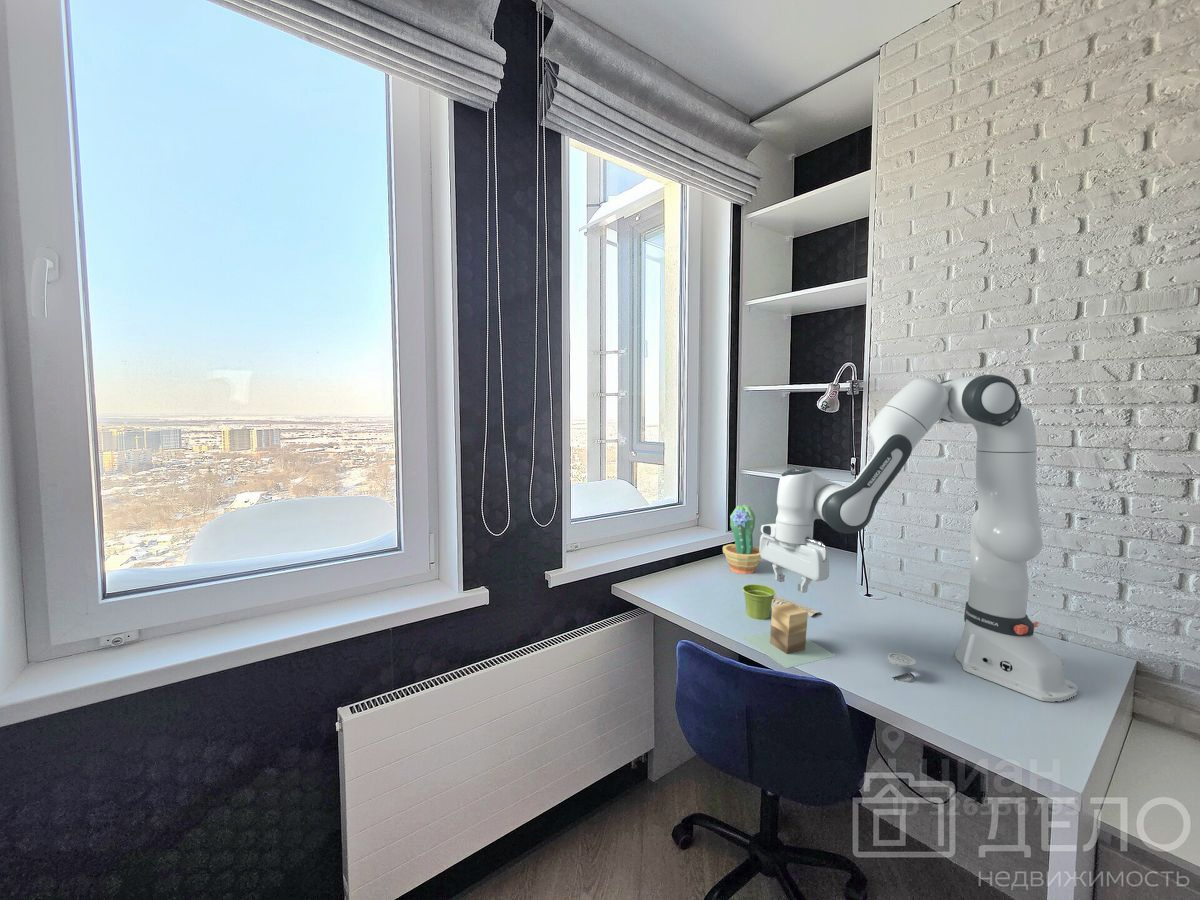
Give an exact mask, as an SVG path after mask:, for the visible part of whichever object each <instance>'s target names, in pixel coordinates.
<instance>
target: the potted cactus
mask: <svg viewBox="0 0 1200 900" xmlns="http://www.w3.org/2000/svg"><path fill="white" fill-rule="evenodd" d="M729 518H730V521H729V522H730V524H729V525H730V529H731V531H732V535H733V539H734V543H730V544H726V545H723V546H722V553H723V554H724V555H725V559H726V561H727V563H728V565H729V569H730V571H731V572H733V573H737V574H740V575H742V574H743V575H747V574H748V575H751V574H753V573H755V569H756V567H757V566H758V565H759V563H760V561H761V560H762V558H761V556H760V553H759V546H755V545H754V542H753V539H754V537H753V533H754V530H755V525H756V515H755V513H754V511H753V510H752V508H751V507H750V505H746V504H742V505H741V504H738V505H736V507H735V508H734V510H733V511H732V513H731V514H730V516H729Z"/></svg>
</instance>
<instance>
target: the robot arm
mask: <svg viewBox="0 0 1200 900" xmlns="http://www.w3.org/2000/svg"><path fill="white" fill-rule="evenodd" d="M938 421H941V422H947V423H958V424H959V423H960V424H972V426H973V427H974V430H975V432H976V437H977V439H976V449H975V450H976V452H975V453H976V457H975V458H976V459H975V461H976V462H975V466H976V467H975V485H976V494H977V503H978V504H977V505H978V509H976V510H975V511H974V513H972V514H973V515H972V517H971V518H970V519H971V520H970V539H969V546H970V549H969V551H970V557H969V558H970V560H969V561H970V562H969V563H970V574H969V575H970V576H969V589H968V597H967V601H966V602H965V606H964V608H965V609H964V615H963V620H964V621H963V622H964V628H963V631H962V632H963V633H962V635H961V639H960V641H959V645H958V647H957V649H956V650H955V652H954V656H955V659H956V660H957V661H958V662H959V663H960V664H961V665H962V666H961V667H962V670H963V671H965V672H967V673H969V674H972V675H975V676H977V677H978V678H982V679H985V680H987V681H990V682H991V683H995V684H998V685H1000V686H1003V687H1005V688H1008V689H1010V690H1013V691H1015V692H1018V693H1020V694H1023V695H1026V696H1029V697H1031V698H1033V699H1036V700H1039V701H1043V702H1048V703H1050V702H1052V703H1053V702H1055V701H1058V702H1064V701H1067V700H1066V699H1068V700H1070V699H1072V698H1074V697H1075V696H1074V695H1075V694H1076V693H1077V694H1078V687H1077V684H1076V683H1074V682H1073V681H1071V680H1069V679H1067V678H1066V676H1065V667H1064V664H1063V662H1062V661H1063V660H1061V658H1060V657H1059V656H1058V655H1057V654H1055V653H1054V652H1053V650H1052V649H1050V648H1049V647H1048V646H1047V645H1046V643H1044V642H1043V641H1042V640H1041V639H1040V638H1039V637H1038V636H1037V635H1036V634H1035V633H1034V632H1035V631H1034V630H1035V628H1037V627H1039V623H1040V622H1039V621H1034V622H1032V620H1031V619H1030V618H1029V616H1028V614H1027V609H1028V598H1029V589H1030V588H1029V587H1030V579H1029V576H1028V562H1029V561H1031V560H1033V559H1035V558H1036V557H1037V556H1038V555H1039V554H1040V552H1041V551H1042V548H1043V543H1044V542H1043V535H1042V526H1041V517H1040V515H1041V513H1040V508H1039V499H1038V493H1037V455H1038V454H1037V445H1038V444H1037V443H1038V441H1037V433H1036V425H1035V421H1034V417H1033V414H1032V412H1031V410H1030V409H1029V408H1027V407H1025V406H1024V405H1022V402H1021V401H1020V393H1019V390H1018V389H1017V387H1016V385H1015V384H1014V383H1013V382H1012V381H1011V380H1010V379H1008V378H1006V377H1004V376H1000V375H995V374H984V375H983V374H982V375H968V376H967V375H966V376H962V377H960V378H955V379H948V380H945V381H942V382H940V381H937V380H935V379H933V378H929V377H917V378H915V379H913V380H911V381H910V382H908V383H907V384H906V385H905V386H904V387H902V388H901V389H900V390H898V392H896V393H895V394H894V396H892V397H891V398H890V399H889V400H888V402H887V403H886V404H885V405H884V406H883V407H881V409H880V411H878V413H877V414H876V415H875V417H874V418H873V420H872V422H871V424H870V425H869V427H868V435H869V439H870V441H871V443H872V445H873V454H872V456H871V457H870V460H868V462H867V463H866V465H865V466H864V467H863V468H862V470H861V471H860V472H859V474H858V475H857V477H856V478H855V479H854V481H853V482H851V483H850V484H849V485H847V486H845V485H842V484H840V483H837V482H834V481H831V480H830V479H827V478H825V477H822V476H821V475H819V474H817V473H816V472H815V471H814V470H813V469H811V468H801V467H799V468H791V469H788V470H786V471H784V472H782V474H781V475H780V478H779V481H778V485H777V493H776V507H777V513H776V516H775V517H776V518H775V522H773V523H767V524H762V525H761V526H760V532H761V534H760V537H759V546H758V547H759V553H760V556H761V560H762V559H763V560H765V561H766V562H770V563H771V564H772V568H773V569H772V570H773V571H774V575H775V579H774V580H775V581H776V582H779V583H783V582H785V581H786V580H785V577H786V575H785V574H784V573H783V571H782V568H784V569H786V570H789V571H791V572H793V573H796V574H799V575H801V578H800V579H801V580H802V582H801V583H798V584H797V591H798V592H800V593H802V594H804V593H805V594H806V593H807V592H808V591H809V590H808V586H809V585H810V583H811V582H812V581H815V582H823V581H826V580H827V579H828V578H829V577H830V561H829V549H828V548H827V546H826V545H825V544H824V543H823V542H822V541H820V540H816V539H814V524H815V523H814V522H815V520H823V522H825V523H827V525H828V526H829V527H830V528H831V529H833V530H834V531H836V532H838V533H841V534H855V533H858V532H860V531H862V530H863V529H864V528H866V527H867V526H868V525H869V523H870V522H871V520H872V518H873V515H874V512H875V509H876V506H877V504H878V502H879V500H880V499H881V497H882V496H883V494H884V493H885V492H886V490H888V488H889V487H890V485H891V484H892V483H893V481H894V479H895V478H896V477H897V476H898V474H899V473H900V471H901V470H902V469H903V468H904V466H905V465H906V463H907V462H908V460H909V458H910V456H911V455H912V452H913V450H914V449H915V448H916V446H917V445H918V444H919V443H920V441H921V440H922V439H923V438H924V437H925V436H926V434H928V432H929V431H930V430H931V428H932V427H933V426H934V425H935V424H936V423H937V422H938ZM1077 694H1076V695H1077ZM1073 696H1074V697H1073ZM1071 697H1072V698H1071ZM1069 698H1070V699H1069ZM1063 700H1064V701H1063Z"/></svg>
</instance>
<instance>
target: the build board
mask: <svg viewBox="0 0 1200 900" xmlns="http://www.w3.org/2000/svg"><path fill="white" fill-rule="evenodd" d="M770 632H771V631H769V632H764V633H759V634H755V635H749V636H745V637H741V639H742V640H744V641H745V642H747V643H748V644H750V645H751V646H752V647H754V648H755V649H757V650H759V651H760V652H762V653H763V654H764V655H766V656H767V657H769V658H770V659H772V660H774V661H775V662H777V664H779V665H781V666H782V667H784V668H785V669H789V668H793V667H794V668H795V667H797V666H801V665H805V664H809V663H814V662H817V661H822V660H825V659H828V658H832V657H833V658H834V657H836V656H837V655H836V654H834V653H832V652H830V651H829V650H827V649H826V648H823V647H822V646H820V645H818V644H816V643H815V642H813V641H811V640H810V639H808V638H806V645H805V650H802V651H798V652H794V653H790V654H786V653H784V652H783V651H781V650H780V649H778V648H777V647H775V646H773V645H772V644H770Z"/></svg>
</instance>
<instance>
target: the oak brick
mask: <svg viewBox="0 0 1200 900" xmlns="http://www.w3.org/2000/svg"><path fill="white" fill-rule="evenodd" d="M770 617H771V619H770V620H771V622H770V626H771V625H772V626H774V627H776V628H777V629H779V630H781V631H783V632H784V633H786V634H788V635H790V634H795V633H799V632H804V631H806V632H807V630H808V629H807V627H808V612H807V611H805V610H803V609H801V608H799V607H797V606H795V605H793V604H791V603H786V604H781V605H771V616H770Z"/></svg>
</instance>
